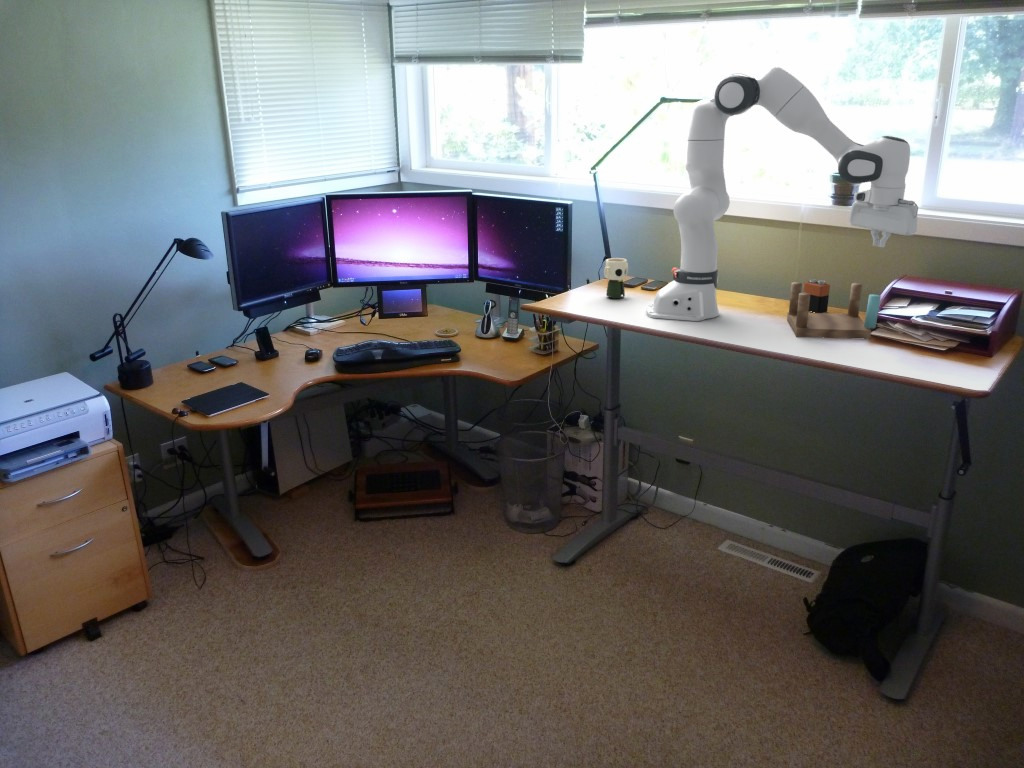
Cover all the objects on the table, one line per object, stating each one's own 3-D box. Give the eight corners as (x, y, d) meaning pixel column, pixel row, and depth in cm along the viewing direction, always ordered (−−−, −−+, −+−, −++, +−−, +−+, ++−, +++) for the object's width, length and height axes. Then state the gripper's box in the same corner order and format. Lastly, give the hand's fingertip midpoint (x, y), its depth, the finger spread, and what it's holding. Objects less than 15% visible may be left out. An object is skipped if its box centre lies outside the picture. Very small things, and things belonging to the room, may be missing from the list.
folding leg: (865, 327, 235) (870, 296, 232) (862, 325, 238) (867, 294, 235) (876, 328, 234) (881, 297, 231) (874, 325, 237) (879, 294, 234)
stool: (796, 336, 238) (800, 295, 234) (786, 320, 255) (790, 281, 251) (870, 339, 235) (875, 297, 231) (855, 322, 252) (860, 282, 248)
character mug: (611, 302, 280) (612, 263, 276) (596, 298, 285) (597, 260, 281) (634, 296, 286) (635, 259, 282) (619, 293, 291) (620, 256, 287)
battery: (818, 314, 261) (821, 283, 258) (800, 310, 266) (804, 279, 263) (827, 312, 263) (831, 281, 260) (810, 308, 268) (813, 277, 265)
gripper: (926, 201, 226) (917, 251, 231) (864, 192, 243) (857, 239, 248) (911, 202, 223) (902, 253, 228) (849, 193, 240) (842, 241, 245)
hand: (878, 246), depth 238 cm, fingers closed
